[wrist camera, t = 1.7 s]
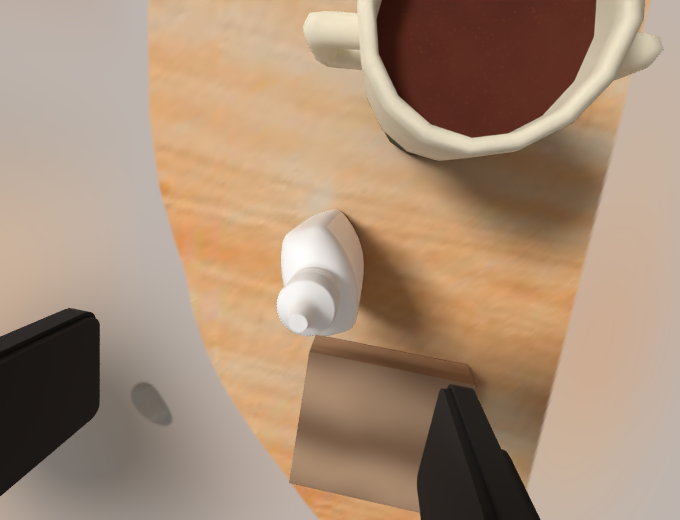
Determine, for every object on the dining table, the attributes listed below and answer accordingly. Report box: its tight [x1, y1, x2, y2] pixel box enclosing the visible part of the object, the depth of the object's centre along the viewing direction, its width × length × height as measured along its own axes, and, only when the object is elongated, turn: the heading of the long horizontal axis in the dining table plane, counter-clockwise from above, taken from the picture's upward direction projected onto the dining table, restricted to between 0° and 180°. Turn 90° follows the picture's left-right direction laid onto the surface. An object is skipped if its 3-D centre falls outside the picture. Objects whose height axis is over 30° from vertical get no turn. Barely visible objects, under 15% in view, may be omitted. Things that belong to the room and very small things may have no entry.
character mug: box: [303, 0, 663, 161], centre depth 15 cm, size 11×7×13 cm, turn 84°
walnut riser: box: [289, 335, 477, 513], centre depth 26 cm, size 11×11×2 cm
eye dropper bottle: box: [276, 209, 364, 336], centre depth 18 cm, size 4×6×12 cm
